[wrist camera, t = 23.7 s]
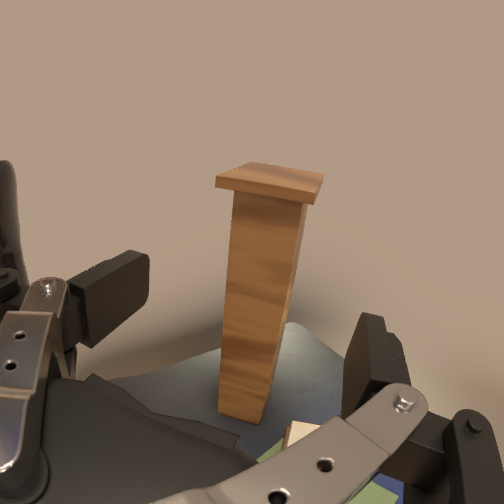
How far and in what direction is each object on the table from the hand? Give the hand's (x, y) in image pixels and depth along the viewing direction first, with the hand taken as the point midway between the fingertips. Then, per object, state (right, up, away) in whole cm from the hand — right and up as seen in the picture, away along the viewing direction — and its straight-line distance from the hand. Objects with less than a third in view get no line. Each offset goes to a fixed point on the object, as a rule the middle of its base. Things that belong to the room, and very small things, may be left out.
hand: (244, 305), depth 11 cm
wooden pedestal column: (-1, -20, +30) cm, 36 cm away
